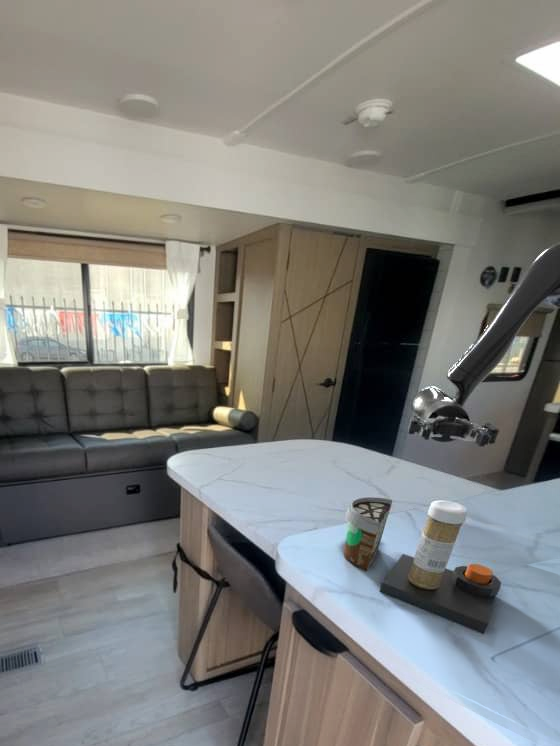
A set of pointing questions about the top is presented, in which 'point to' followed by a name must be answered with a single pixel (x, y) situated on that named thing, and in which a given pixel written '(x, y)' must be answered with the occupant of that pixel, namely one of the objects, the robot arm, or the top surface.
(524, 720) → the top surface
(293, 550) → the top surface
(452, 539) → the sprinkles bottle
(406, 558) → the scale
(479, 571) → the button
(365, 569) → the food container
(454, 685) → the top surface
